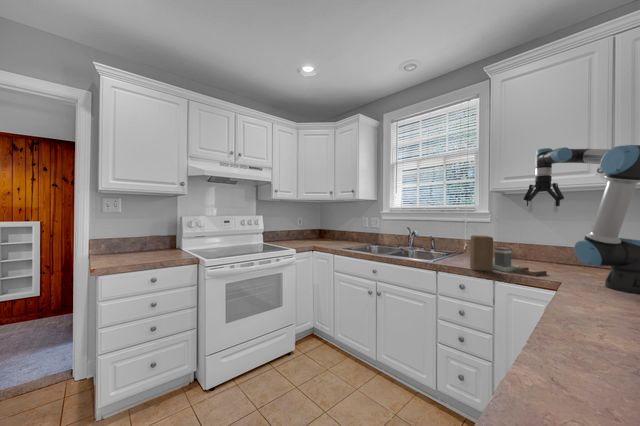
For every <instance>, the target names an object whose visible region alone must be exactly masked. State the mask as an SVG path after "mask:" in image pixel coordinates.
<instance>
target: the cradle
mask: <svg viewBox="0 0 640 426" xmlns="http://www.w3.org/2000/svg"><path fill="white" fill-rule="evenodd" d="M529 269H530V267H527V266H525V267H520V268H515V271H514V272H515V273H519V274H523V275H528V276H532V277H537V276H538V277H539V276H547V270H539V271H531V270H529Z"/></svg>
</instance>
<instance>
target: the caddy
mask: <svg viewBox="0 0 640 426" xmlns="http://www.w3.org/2000/svg"><path fill="white" fill-rule="evenodd" d="M494 263H495V265H496V266H501V267H511V265H512V248H508V247H494Z"/></svg>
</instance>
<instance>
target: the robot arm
mask: <svg viewBox="0 0 640 426" xmlns="http://www.w3.org/2000/svg"><path fill="white" fill-rule="evenodd" d="M534 161H535V168H534V169H535V171H534V174H535V177H534V184H529V187H528V190H527V191H526V193H525V195H524V196H523V200H524V201H526V207H527V212H529V213H533V199H534V198H535V197H536V196H537V195H538V193H541V192H542V193H543V192H546V193H548V194H549V195H550V196H551V197H552V198H553V199H554V200H553V210H552V211H553V213H558V212H559V207H560V205H561V204H560V203H561V201H562V200H564V199H565V197H564V195H563V193H562V191H561V190H560V188H559V183H557V182H553V183H552V174H553V173H552V170H553V166H552V165H553V164H591V165H600V168H601V171H602V172H603V173H604V175H603V176H604V178H605V179H606V181H607V182H606V185H605V188H604V191H603V194H602V198H601V201H600V203H599V206H598V210H597V213H596V215H595V219H594V222H593V225H592V228H591V231H589V232H586V233H585V235H584V239H580V240H578V241H576V242H575V244H574V248H573V250H574V255H575V256H576V259H578V261H579V262H580V263H582V264H583V265H586V266H593V267H602V266H603V267H610V271H609V273H608V275H607V276H606V279H605V281H604V286H605V287H606V288H608V289H612V290H615V291H619V292H620V291H621V292H627V293H632V294H640V240H639V239H632V238H624V237H619V235H620V232H621V229H622V226H623V223H624V220H625V218H626V215H627V212H628V210H629V207H630V204H631V201H632V199H633V195H634V193H635V189H636V187H637V185H638V184H639V183H640V144H638V145H637V144H636V145H635V144H626V145H625V144H624V145H616V146H614V147H612V148H611V149H609V148H607V149H605V148H568V147H566V146H565V147H558V148H555V149H552V148H550V147H549V148H539V149H537V150H536V151H535V160H534ZM552 188H553V189H552Z"/></svg>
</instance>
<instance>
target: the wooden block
mask: <svg viewBox="0 0 640 426" xmlns="http://www.w3.org/2000/svg"><path fill="white" fill-rule="evenodd" d="M469 252H470V253H469V254H470V255H469V256H470V257H469V258H470V261H469V264H470V265H469V266H470V268H471V269H472V270H473V271H475V272H476V271H477V272H478V271H479V272H489V273H490V272H492V271H493V270H494V269H493V263H494V262H493V261H494V238H493V237H492V236H489V235H474V234H473V235H471V236H470V251H469Z"/></svg>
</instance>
